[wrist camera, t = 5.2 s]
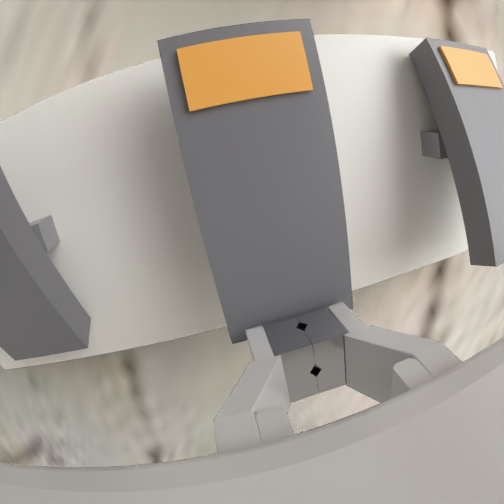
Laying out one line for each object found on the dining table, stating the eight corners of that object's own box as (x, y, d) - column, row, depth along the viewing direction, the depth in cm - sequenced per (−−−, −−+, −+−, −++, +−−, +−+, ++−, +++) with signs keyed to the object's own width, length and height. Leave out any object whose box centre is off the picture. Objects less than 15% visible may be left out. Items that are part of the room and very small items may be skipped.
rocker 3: (408, 54, 10) (428, 35, 8) (468, 60, 10) (488, 47, 9) (470, 264, 10) (498, 266, 8) (522, 241, 10) (547, 241, 9)
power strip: (-30, 161, 11) (-93, 178, 7) (527, 73, 15) (577, 75, 10) (32, 329, 15) (-3, 386, 10) (535, 194, 19) (581, 211, 14)
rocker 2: (162, 54, 7) (156, 38, 6) (293, 33, 8) (311, 17, 6) (227, 319, 11) (233, 346, 9) (335, 289, 11) (355, 310, 9)
